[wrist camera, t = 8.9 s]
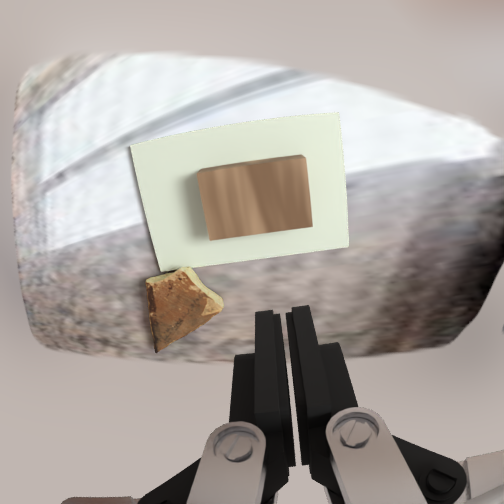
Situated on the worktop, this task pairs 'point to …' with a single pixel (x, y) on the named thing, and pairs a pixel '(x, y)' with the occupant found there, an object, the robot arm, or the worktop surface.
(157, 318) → the shard
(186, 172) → the sage mat
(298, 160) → the walnut slab
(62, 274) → the worktop surface
